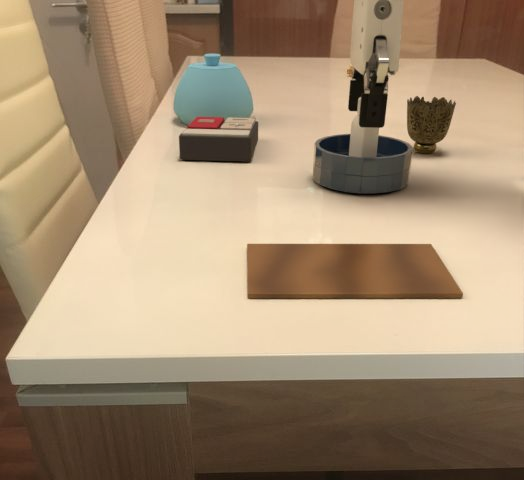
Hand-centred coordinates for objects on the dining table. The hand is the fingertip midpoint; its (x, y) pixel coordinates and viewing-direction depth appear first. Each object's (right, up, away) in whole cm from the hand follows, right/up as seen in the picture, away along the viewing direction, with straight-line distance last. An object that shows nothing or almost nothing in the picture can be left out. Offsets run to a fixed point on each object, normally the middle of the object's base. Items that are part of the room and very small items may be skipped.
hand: (365, 118), depth 86 cm
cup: (+13, +1, +18) cm, 22 cm away
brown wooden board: (-5, -23, -21) cm, 32 cm away
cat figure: (+15, +46, +92) cm, 104 cm away
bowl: (0, -7, +4) cm, 8 cm away
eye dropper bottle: (0, -7, +4) cm, 8 cm away
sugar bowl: (-23, +13, +36) cm, 45 cm away
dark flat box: (-20, +1, +18) cm, 28 cm away
